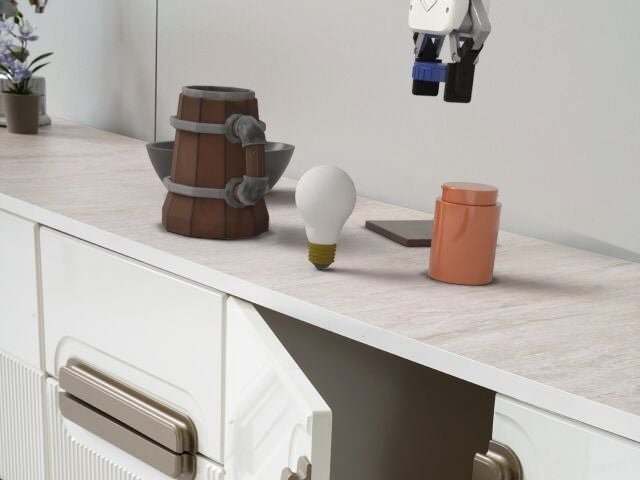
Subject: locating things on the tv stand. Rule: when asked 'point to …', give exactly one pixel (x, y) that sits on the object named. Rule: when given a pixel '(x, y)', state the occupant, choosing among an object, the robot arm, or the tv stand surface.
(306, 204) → the light bulb
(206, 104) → the mug
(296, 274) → the tv stand surface
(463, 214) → the jar
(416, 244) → the plate
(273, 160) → the bowl
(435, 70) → the lid
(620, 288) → the tv stand surface
